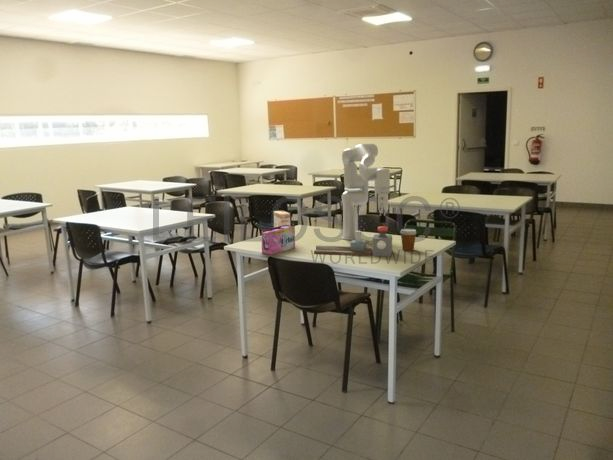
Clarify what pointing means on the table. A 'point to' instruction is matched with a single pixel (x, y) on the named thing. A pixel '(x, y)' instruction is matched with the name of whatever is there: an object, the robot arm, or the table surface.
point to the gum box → (278, 239)
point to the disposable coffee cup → (408, 239)
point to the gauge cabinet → (382, 245)
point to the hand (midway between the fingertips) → (382, 222)
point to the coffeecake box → (281, 218)
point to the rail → (341, 250)
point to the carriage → (358, 242)
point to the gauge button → (382, 231)
